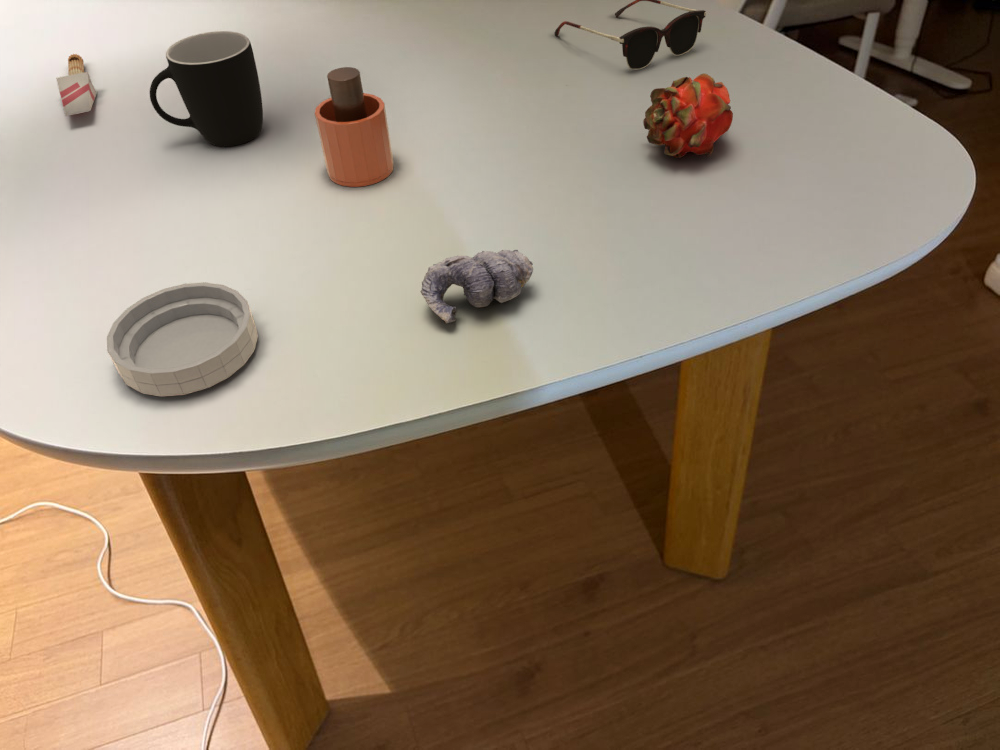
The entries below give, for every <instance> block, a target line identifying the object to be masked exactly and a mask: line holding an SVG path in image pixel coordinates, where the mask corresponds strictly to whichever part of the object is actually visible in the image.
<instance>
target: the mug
mask: <svg viewBox="0 0 1000 750" xmlns="http://www.w3.org/2000/svg"><path fill="white" fill-rule="evenodd" d="M165 58H166V61H167V64H168V65H167V67H166V68H164V69H163V70H161V71H160V72H158V74H156V76H155V77H154V78H153V79H152V81H151V83H150V87H149V100H150V103H151V105H152V108H153V109H154V111H155V112H156V114H158V116H159V117H160V118H162V120H164V121H166V122H167V123H169V124H172V125H174V126H179V127H183V128H184V127H186V128H192V129H195V130H196V131H198V133H199V134H200V135H201V136H202V137H203V139H204V140H206V142H207V143H209V144H211V145H213V146H216V147H235V146H240V145H243V144H246V143H249V142H251V141H252V140H254V139H256V138H257V137H258V136H259V135H260V133H261V132H262V128H263V125H264V124H263V123H264V109H263V100H262V91H261V85H260V79H259V74H258V68H257V64H256V59H255V54H254V50H253V46H252V42H251V40H250V38H249V37H248V36H247V35H245V34H243V33H241V32H237V31H229V30H220V31H218V30H217V31H215V30H214V31H208V32H202V33H197V34H193V35H190V36H187V37H184V38H181V39H180V40H178V41H175V42H174V43H173V44H171V45H170V46H169V47H168V48H167V50H166V52H165ZM166 79H171V80H172V81H173V82H174V84H175V86H176V88H177V90H178V93H179V95H180V97H181V99H182V102H183V104H184V106H185V108H186V110H187V112H188V114H189V116H188V117H186V118H180V117H175V116H174V115H173V116H172V115H171V114H169V113H167V112H166V111H165V110H164V109H163V108H162V107H161V105H160V104H159V101H158V98H157V91H158V87H159V86H160V84H161V83H162V82H164V80H166Z"/></svg>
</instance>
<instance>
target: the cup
mask: <svg viewBox="0 0 1000 750" xmlns="http://www.w3.org/2000/svg"><path fill="white" fill-rule="evenodd" d="M363 94H364V100H365V106H366V112H367V118H364V119H361V120H357V121H350V122H336V118H335V113H334V108H333V103H332V98H331V97H328V98H327V99H324V100H323V101H321V102H320V103H319V104H318V105H317V106H315V109H314V117H315V123H316V127H317V132H318V136H319V140H320V141H319V142H320V144H321V149H322V154H323V159H324V164H325V168H326V171H327V175H328V178H329V179H330V180H331V181H332V182H333V183H334V184H337V185H339V186H343V187H349V188H350V187H351V188H359V187H360V188H361V187H366V186H371V185H374V184H377V183H380V182H382V181H384V180H385V179H386V178H388V177H389V176H390V175H391V174H392V173H393V171H394V158H393V150H392V143H391V137H390V129H389V124H388V118H387V112H386V106H385V102H384V101H383V100H382V97H379V96H377V95H375V94H373V93H372V94H371V93H367V92H363Z"/></svg>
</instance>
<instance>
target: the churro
mask: <svg viewBox="0 0 1000 750" xmlns="http://www.w3.org/2000/svg"><path fill="white" fill-rule="evenodd" d="M67 68H68V73H67V74H68V75H65V76H59V77H56V78H55V79H56V83H57V86H58V87H57V88H58V91H59V95H60V99H61V103H62V108H63V111H64V117H69V116H72V115H78V114H82V113H87V112H91V110H92V107H93V104H94V102H95V99H96V96H97V94H98V92H97V90H96V88H95V86H94V84H93V81H92V80H91V76H90V74H89V71H85V65H84V59H83V56H80V55H79V54H77V53H73V54H70V55H69V56H68V58H67Z"/></svg>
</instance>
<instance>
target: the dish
mask: <svg viewBox="0 0 1000 750" xmlns="http://www.w3.org/2000/svg"><path fill="white" fill-rule="evenodd" d="M258 338H259V334H258V329H257V326H256V322H255V320H254V317H253V314H252V310H251V308H250V304H249V302H248V300H247V299H246V298H245V297H244V296H243V295H242V294H241V293H240V292H239V291H238V290H236V289H233V288H232V287H229V286H227V285H224V284H220V283H212V282H206V281H205V282H203V281H202V282H189V283H182V284H178V285H174V286H169V287H166V288H162V289H160V290H157V291H155V292H153V293H150V294H148V295H146V296H144V297H142V298H140V299H139V300H138V301H136V302H135V303H133V304H132V305H130V306H129V307H127V308H126V309H125V310H124V311H123V312H122V313H121V314H120V315H119V316H118V317H117V319H115V320H114V322H113V323H112V325H111V327H110V328H109V331H108V333H107V336H106V351H107V354H108V355H109V357H110V360H111V361H112V363H113V366H114V367H115V369H116V370H117V372H118V375H119V376H120V378H121V379H122V381H123V382H124V384H125V385H126V386H128V387H130V388H132V389H133V390H135V391H137V392H138V393H141V394H143V395H149V396H155V397H173V396H184V395H189V394H192V393H196V392H199V391H203V390H206V389H209V388H212V387H213V386H215V385H217V384H219V383H221V382H223V381H225V380H227V379H228V378H230V377H231V376H233V375H234V374H235V373H236V372H237V371H238V370H240V369H242V368H243V367H244V365H246V363H247V362H248V361H249V359H250V357H252V355H253V353H254V352H255V351H256V350H255V349H256V347H257V342H258Z"/></svg>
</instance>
